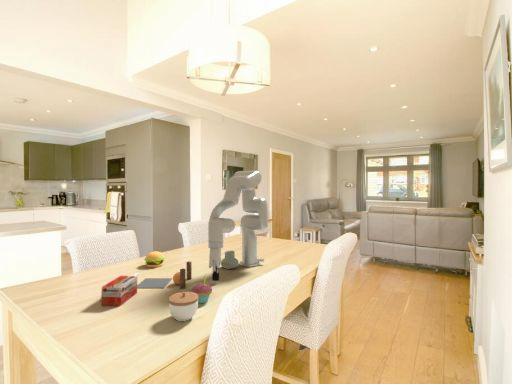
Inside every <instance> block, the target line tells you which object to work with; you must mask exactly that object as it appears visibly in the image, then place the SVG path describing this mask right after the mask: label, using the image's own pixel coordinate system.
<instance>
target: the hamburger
mask: <svg viewBox="0 0 512 384" xmlns="http://www.w3.org/2000/svg"><path fill="white" fill-rule="evenodd" d="M165 259H166V257H165V256H164V254H163V253H162V252H161V251H158V250H157V251H156V250H155V251H151V252H149V253H147V255H146V256H145V258H144V263H145V265H146V267H147V268H152V269H153V268H160V267H162V266H163V265H164V261H165Z"/></svg>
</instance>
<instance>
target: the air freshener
mask: <svg viewBox="0 0 512 384" xmlns="http://www.w3.org/2000/svg"><path fill="white" fill-rule="evenodd" d="M235 256H236V255H235V251H234V250H225V252H224V258H223V259H221V263H220V266H221V267H222V268H223V269H225V270H232V269H235V268H237V267H238V266H239V265H240V261H239V260H238V259H237V258H236V257H235Z"/></svg>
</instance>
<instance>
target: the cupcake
mask: <svg viewBox="0 0 512 384" xmlns="http://www.w3.org/2000/svg"><path fill="white" fill-rule="evenodd" d="M206 281H207V274H205V275H204V278H203V283H199V284H196V285H195V286H193V287H192V289H191V292H194V293H196V294H198V296H199V298H198V304H205V303H207V302H208V301H209V297H210V296H211V294H212V292H213V288H212V287H211V285H209V284H207V283H206Z"/></svg>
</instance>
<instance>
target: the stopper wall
mask: <svg viewBox="0 0 512 384" xmlns="http://www.w3.org/2000/svg"><path fill="white" fill-rule="evenodd" d="M140 274H141V273H140V272H135V273H134V274H132V275H131V276H137V280H139V279H140V277H141V275H140Z"/></svg>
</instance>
